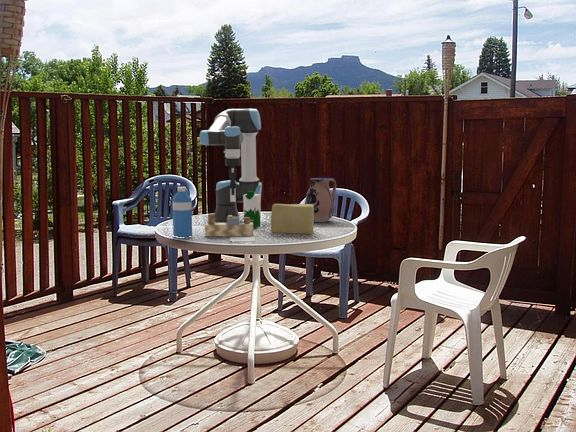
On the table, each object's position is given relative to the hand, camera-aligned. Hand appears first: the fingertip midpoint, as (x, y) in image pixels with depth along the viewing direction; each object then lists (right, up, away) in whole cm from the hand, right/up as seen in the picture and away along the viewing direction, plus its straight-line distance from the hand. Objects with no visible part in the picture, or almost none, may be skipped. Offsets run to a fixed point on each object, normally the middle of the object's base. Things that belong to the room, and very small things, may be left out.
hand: (233, 200), depth 316 cm
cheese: (+30, -17, +11) cm, 36 cm away
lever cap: (0, -12, +2) cm, 12 cm away
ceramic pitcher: (+47, -11, +51) cm, 70 cm away
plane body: (-2, -18, +3) cm, 18 cm away
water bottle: (-25, -19, -2) cm, 31 cm away
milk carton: (+8, -14, +29) cm, 33 cm away
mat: (+6, -20, -10) cm, 23 cm away
